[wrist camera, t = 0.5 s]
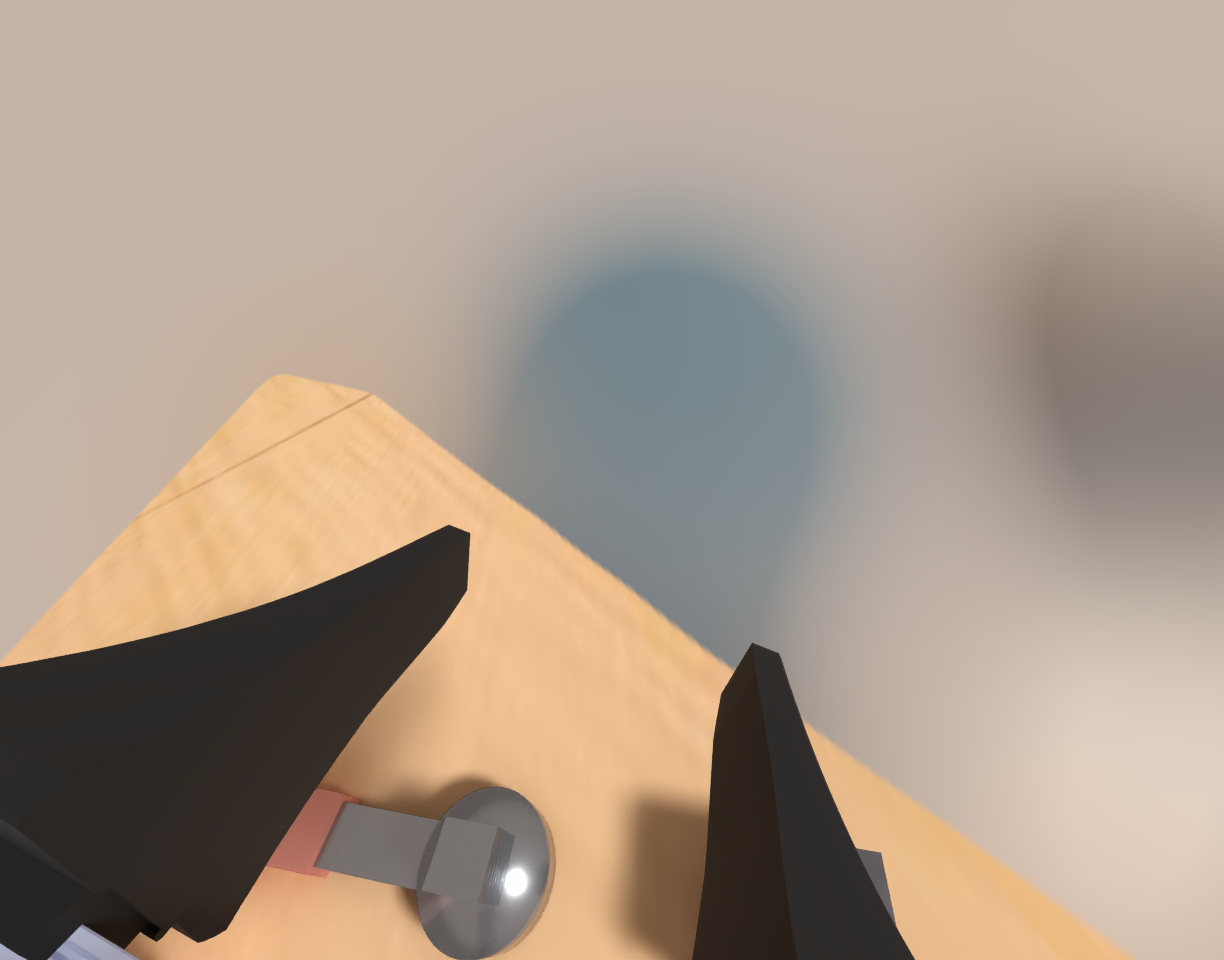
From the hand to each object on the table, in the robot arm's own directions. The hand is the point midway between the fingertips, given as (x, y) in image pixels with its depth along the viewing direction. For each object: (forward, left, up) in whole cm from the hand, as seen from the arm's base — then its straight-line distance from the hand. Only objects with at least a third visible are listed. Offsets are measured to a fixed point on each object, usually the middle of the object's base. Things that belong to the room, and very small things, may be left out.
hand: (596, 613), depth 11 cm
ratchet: (-4, +13, -19) cm, 23 cm away
